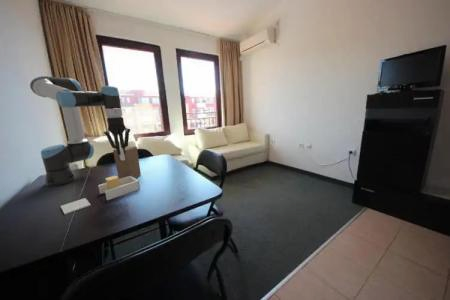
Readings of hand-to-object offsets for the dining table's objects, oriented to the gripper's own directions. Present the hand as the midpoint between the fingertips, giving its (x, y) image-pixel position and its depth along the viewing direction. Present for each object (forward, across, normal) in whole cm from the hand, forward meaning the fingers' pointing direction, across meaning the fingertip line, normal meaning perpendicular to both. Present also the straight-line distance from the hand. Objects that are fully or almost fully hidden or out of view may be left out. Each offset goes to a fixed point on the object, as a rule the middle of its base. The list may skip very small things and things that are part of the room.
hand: (122, 159), depth 105 cm
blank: (+18, -7, 0) cm, 19 cm away
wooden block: (+18, +8, +18) cm, 27 cm away
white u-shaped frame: (+18, -4, 0) cm, 18 cm away
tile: (+17, -24, 0) cm, 30 cm away
